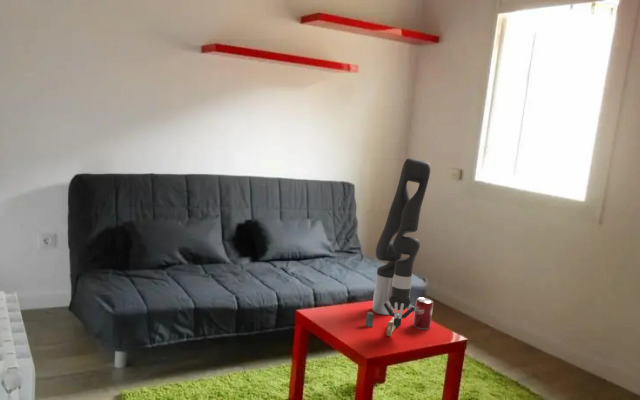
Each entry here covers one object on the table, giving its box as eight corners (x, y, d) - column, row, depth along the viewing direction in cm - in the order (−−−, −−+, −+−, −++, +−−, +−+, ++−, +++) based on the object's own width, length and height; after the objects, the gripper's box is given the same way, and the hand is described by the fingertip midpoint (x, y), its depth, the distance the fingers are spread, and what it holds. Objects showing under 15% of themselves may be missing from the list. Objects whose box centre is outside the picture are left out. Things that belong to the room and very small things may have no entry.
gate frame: (364, 324, 239) (366, 311, 239) (397, 325, 242) (398, 312, 242) (366, 327, 236) (368, 314, 236) (399, 327, 240) (401, 315, 239)
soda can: (416, 329, 239) (420, 302, 238) (410, 323, 246) (414, 297, 245) (432, 330, 241) (436, 303, 239) (426, 323, 248) (429, 297, 246)
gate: (392, 326, 239) (393, 314, 238) (396, 327, 239) (398, 315, 238) (386, 335, 229) (387, 322, 228) (390, 336, 228) (392, 323, 227)
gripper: (418, 285, 229) (413, 326, 232) (385, 280, 232) (381, 321, 234) (417, 290, 222) (412, 332, 225) (384, 285, 225) (379, 327, 227)
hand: (396, 326), depth 229 cm, fingers closed
